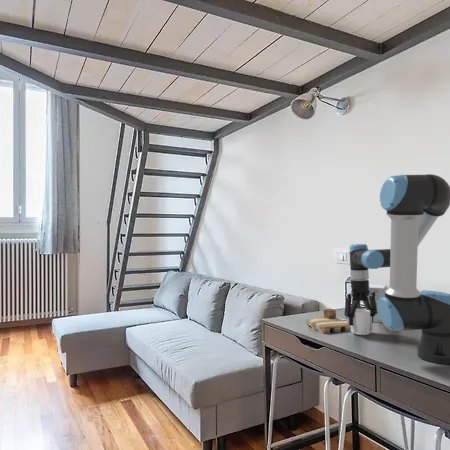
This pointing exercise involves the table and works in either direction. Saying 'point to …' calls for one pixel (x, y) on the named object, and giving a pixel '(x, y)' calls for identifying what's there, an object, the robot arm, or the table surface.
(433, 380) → the table surface
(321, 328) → the pallet dock
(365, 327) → the white cup
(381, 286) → the supplement box
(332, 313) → the cargo block
